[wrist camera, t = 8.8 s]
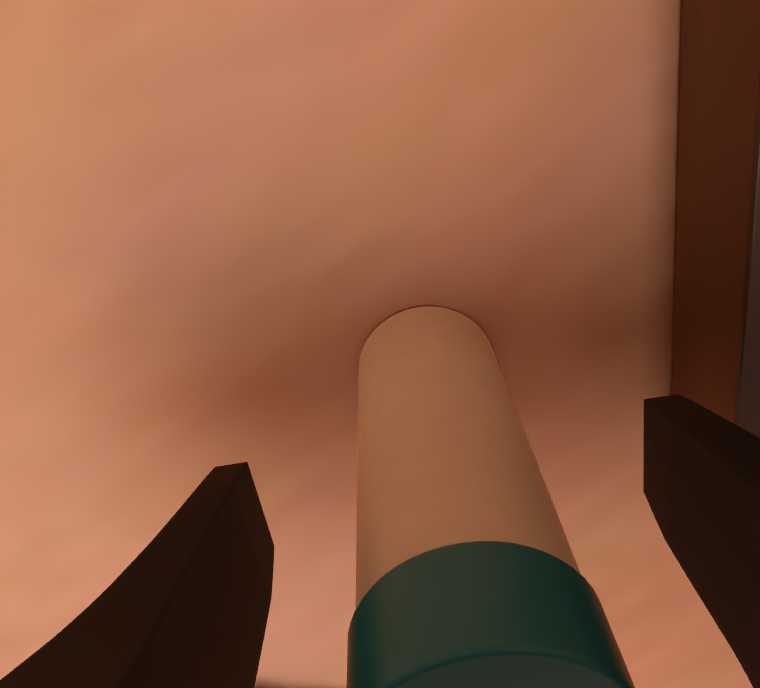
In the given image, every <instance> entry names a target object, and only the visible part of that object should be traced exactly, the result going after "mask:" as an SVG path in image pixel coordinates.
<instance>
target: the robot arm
mask: <svg viewBox="0 0 760 688" xmlns="http://www.w3.org/2000/svg"><path fill="white" fill-rule="evenodd" d="M644 493H645V495H646V498H647V500H648V502H649V505H650V507H651V509H652V512H653V514H654V516H655V519H656V521H657V523H658V525H659V527H660V530H661V532H662V534H663V536H664V538H665V540H666V542H667V544H668V545H669V547H670V549H671V550H672V552H673V554H674V555H675V557H676V559H677V560H678V562H679V564H680V565H681V567H682V569H683V570H684V572H685V574H686V575H687V577H688V579H689V580H690V582H691V583H692V585H693V587H694V588H695V590H696V591H697V593H698V595H699V596H700V598H701V600H702V601H703V603H704V604H705V606H706V608H707V609H708V611H709V612H710V614H711V616H712V617H713V619H714V621H715V622H716V624H717V625H718V627H719V629H720V630H721V632H722V634H723V635H724V637H725V638H726V640H727V642H728V643H729V645H730V646H731V648H732V650H733V651H734V653H735V655H736V657H737V658H738V660H739V662H740V664H741V666H742V667H743V669H744V671H745V673H746V674H747V676H748V678H749V680H750V682H751V684H752V686H753V688H760V438H759V437H758V436H756V435H754V434H752V433H750V432H748V431H747V430H745V429H743V428H741V427H739V426H737V425H736V424H734V423H732V422H730V421H728V420H727V419H725V418H723V417H721V416H719V415H718V414H716V413H714V412H712V411H710V410H709V409H707V408H705V407H703V406H701V405H699V404H698V403H696V402H694V401H692V400H690V399H688V398H686V397H684V396H682V395H680V394H676V395H669V396H663V397H657V398H650V399H644ZM273 563H274V544H273V541H272V538H271V534H270V531H269V528H268V525H267V522H266V519H265V516H264V513H263V509H262V506H261V503H260V500H259V497H258V494H257V491H256V488H255V485H254V481H253V478H252V475H251V472H250V469H249V466H248V463H247V462H244V463H237V464H231V465H225V466H218V467H215V468H214V469H213V470H212V471H211V472H210V473H209V474H208V475H207V477H206V478H205V479H204V480H203V481H202V482H201V484H200V485H199V486H198V487H197V488H196V490H195V491H194V492H193V493H192V494H191V496H190V497H189V498H188V499H187V500H186V502H185V503H184V504H183V505H182V506H181V508H180V509H179V510H178V511H177V512H176V514H175V515H174V516H173V517H172V518H171V519H170V521H169V522H168V523H167V524H166V525H165V526H164V528H163V529H162V530H161V531H160V532H159V533H158V534H157V536H156V537H155V538H154V539H153V540H152V541H151V543H150V544H149V545H148V546H147V547H146V548H145V549H144V550H143V551H142V552H141V553H140V554H139V555H138V557H137V558H136V559H135V560H134V561H133V562H132V563H131V564H130V565H129V566H128V567H127V568H126V569H125V570H124V571H123V572H122V574H121V575H120V576H119V577H118V578H117V579H116V580H115V581H114V582H113V583H112V584H111V585H110V586H109V587H108V588H107V589H106V590H105V591H104V592H103V593H102V594H101V595H100V596H99V597H98V598H97V599H96V600H95V601H94V602H93V603H92V604H91V605H90V606H88V607H87V608H86V609H85V610H84V611H83V612H82V613H81V614H80V615H79V616H77V617H76V618H75V619H74V620H73V621H72V622H71V623H70V624H69V625H67V626H66V627H65V628H64V629H63V630H62V631H61V632H60V633H58V634H57V635H56V636H55V637H54V638H53V639H51V640H50V641H49V642H48V643H46V644H45V645H44V646H43V647H41V648H40V649H39V650H38V651H36V652H35V653H34V654H33V655H31V656H30V657H29V658H28V659H26V660H25V661H24V662H23V663H21V664H20V665H19V666H18V667H16V668H15V669H14V670H13V671H11V672H10V673H9V674H8V675H6V676H5V677H4V678H2V679H1V680H0V688H254V686H255V681H256V676H257V671H258V665H259V660H260V655H261V650H262V645H263V640H264V634H265V629H266V624H267V618H268V613H269V608H270V602H271V594H272V580H273Z"/></svg>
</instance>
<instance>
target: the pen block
mask: <svg viewBox="0 0 760 688" xmlns="http://www.w3.org/2000/svg"><path fill="white" fill-rule="evenodd" d="M676 394H680V395H682V396H684V397H686V398H688V399H690V400H692V401H694V402H696V403H698V404H699V405H701V406H703V407H705V408H707V409H709V410H710V411H712V412H714V413H716V414H718V415H719V416H721V417H723V418H725V419H727V420H728V421H730V422H732V423H734V424H736V425H737V426H739V427H741V428H743V429H745V430H747V431H748V432H750V433H752V434H754V435H756V436H758V437H759V438H760V0H682V21H681V59H680V97H679V135H678V173H677V211H676V249H675V287H674V325H673V363H672V395H676Z"/></svg>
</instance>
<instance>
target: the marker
mask: <svg viewBox="0 0 760 688" xmlns="http://www.w3.org/2000/svg"><path fill="white" fill-rule="evenodd" d="M347 688H635V687H634V684H633V682H632V679H631V677H630V675H629V672H628V670H627V667H626V665H625V662H624V660H623V657H622V655H621V652H620V650H619V647H618V645H617V642H616V640H615V638H614V635H613V633H612V630H611V628H610V625H609V623H608V620H607V618H606V615H605V613H604V610H603V608H602V606H601V603H600V601H599V599H598V597H597V595H596V593H595V591H594V589H593V588H592V587H591V585H590V584H589V583H588V582H587V580H586V579H585V578H584V577H583V576H582V575H581V574H580V571H579V569H578V566H577V563H576V561H575V558H574V556H573V553H572V551H571V548H570V546H569V543H568V540H567V538H566V535H565V533H564V530H563V528H562V525H561V523H560V520H559V517H558V515H557V512H556V510H555V507H554V505H553V502H552V500H551V497H550V495H549V492H548V489H547V487H546V484H545V482H544V479H543V477H542V474H541V472H540V469H539V466H538V464H537V461H536V459H535V456H534V454H533V451H532V449H531V446H530V443H529V441H528V438H527V436H526V433H525V431H524V428H523V426H522V423H521V420H520V418H519V415H518V413H517V410H516V408H515V405H514V403H513V400H512V397H511V395H510V392H509V390H508V387H507V385H506V382H505V380H504V377H503V374H502V372H501V369H500V367H499V364H498V362H497V359H496V357H495V354H494V351H493V349H492V346H491V344H490V342H489V340H488V338H487V336H486V334H485V333H484V332H483V330H482V329H481V328H480V327H479V326H478V325H477V324H476V323H475V322H474V321H472V320H471V319H470V318H468V317H467V316H465V315H463V314H461V313H459V312H456V311H454V310H451V309H447V308H442V307H435V306H424V307H416V308H411V309H407V310H404V311H402V312H399V313H397V314H395V315H393V316H391V317H389V318H388V319H386V320H385V321H383V322H382V323H381V324H380V325H379V326H378V327H376V329H375V330H374V331H373V332H372V333H371V334H370V336H369V337H368V339H367V340H366V342H365V344H364V346H363V348H362V351H361V354H360V358H359V368H358V458H357V549H356V610H355V612H354V615H353V617H352V620H351V623H350V627H349V632H348V655H347Z"/></svg>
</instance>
